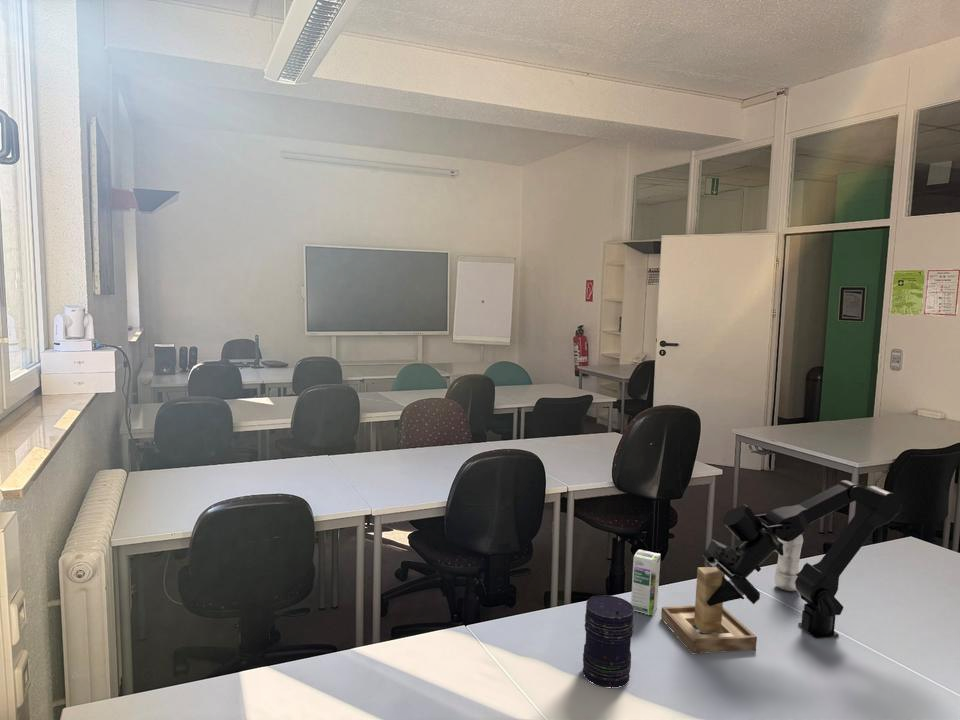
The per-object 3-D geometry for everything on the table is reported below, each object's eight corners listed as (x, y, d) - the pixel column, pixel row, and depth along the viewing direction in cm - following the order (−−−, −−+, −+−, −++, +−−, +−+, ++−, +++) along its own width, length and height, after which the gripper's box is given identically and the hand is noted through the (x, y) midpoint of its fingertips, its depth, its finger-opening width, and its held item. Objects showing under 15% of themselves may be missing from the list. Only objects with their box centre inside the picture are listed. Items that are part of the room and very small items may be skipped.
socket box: (719, 615, 161) (720, 604, 161) (755, 649, 146) (756, 636, 145) (661, 618, 158) (661, 607, 158) (692, 653, 143) (693, 641, 143)
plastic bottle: (775, 592, 175) (781, 521, 173) (771, 581, 182) (777, 513, 180) (801, 595, 173) (807, 524, 171) (796, 585, 180) (802, 516, 178)
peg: (711, 622, 154) (715, 567, 153) (720, 632, 150) (724, 575, 148) (693, 623, 154) (697, 567, 152) (702, 633, 149) (706, 575, 148)
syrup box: (629, 611, 162) (633, 555, 160) (635, 601, 167) (638, 547, 166) (652, 617, 159) (656, 560, 158) (657, 607, 164) (661, 552, 163)
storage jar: (573, 665, 137) (577, 598, 136) (613, 657, 141) (617, 592, 139) (598, 692, 128) (602, 621, 126) (639, 683, 131) (644, 614, 130)
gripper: (711, 516, 159) (666, 560, 159) (750, 546, 141) (699, 595, 141) (739, 547, 161) (694, 590, 161) (781, 580, 142) (731, 628, 142)
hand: (703, 599), depth 151 cm, fingers closed on peg, 4 cm apart
